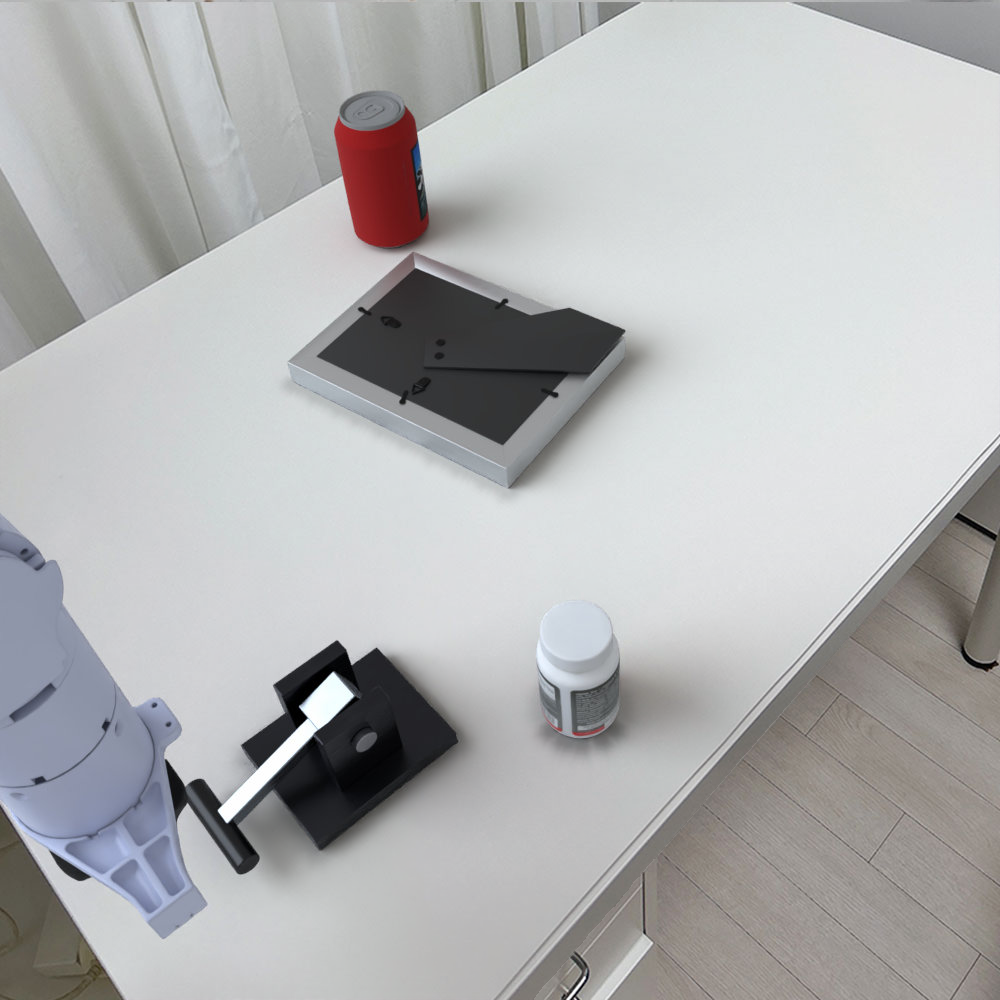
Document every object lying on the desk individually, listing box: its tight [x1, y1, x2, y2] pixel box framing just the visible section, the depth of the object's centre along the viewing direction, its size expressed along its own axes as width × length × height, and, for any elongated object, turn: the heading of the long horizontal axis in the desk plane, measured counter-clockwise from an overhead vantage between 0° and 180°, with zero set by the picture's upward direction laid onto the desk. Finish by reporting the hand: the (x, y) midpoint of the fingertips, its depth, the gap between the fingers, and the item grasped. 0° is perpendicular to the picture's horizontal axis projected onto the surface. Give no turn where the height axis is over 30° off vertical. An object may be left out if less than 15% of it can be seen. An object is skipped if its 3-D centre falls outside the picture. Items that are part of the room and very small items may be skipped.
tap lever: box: [185, 671, 363, 876], centre depth 61 cm, size 11×6×2 cm, turn 130°
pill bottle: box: [535, 599, 621, 739], centre depth 63 cm, size 5×5×8 cm
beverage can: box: [333, 90, 430, 249], centre depth 93 cm, size 7×7×12 cm
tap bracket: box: [240, 639, 459, 852], centre depth 63 cm, size 10×8×7 cm
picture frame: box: [286, 251, 626, 489], centre depth 85 cm, size 16×3×21 cm
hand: (155, 857), depth 51 cm, fingers closed
